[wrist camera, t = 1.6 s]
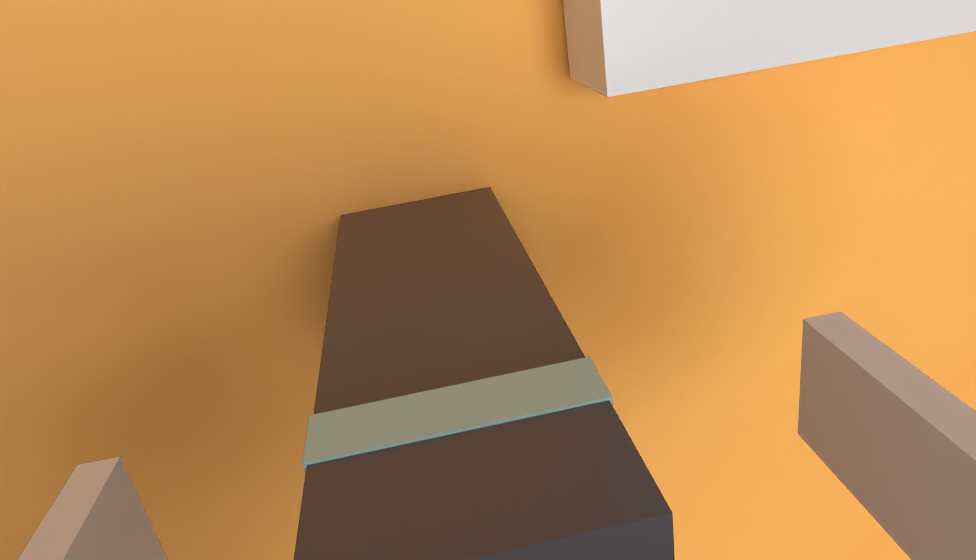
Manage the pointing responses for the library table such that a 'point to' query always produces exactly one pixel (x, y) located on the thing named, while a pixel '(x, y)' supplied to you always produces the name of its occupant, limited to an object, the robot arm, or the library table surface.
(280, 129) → the library table surface
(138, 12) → the library table surface
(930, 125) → the library table surface
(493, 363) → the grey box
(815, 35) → the white slotted plate
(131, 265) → the library table surface
